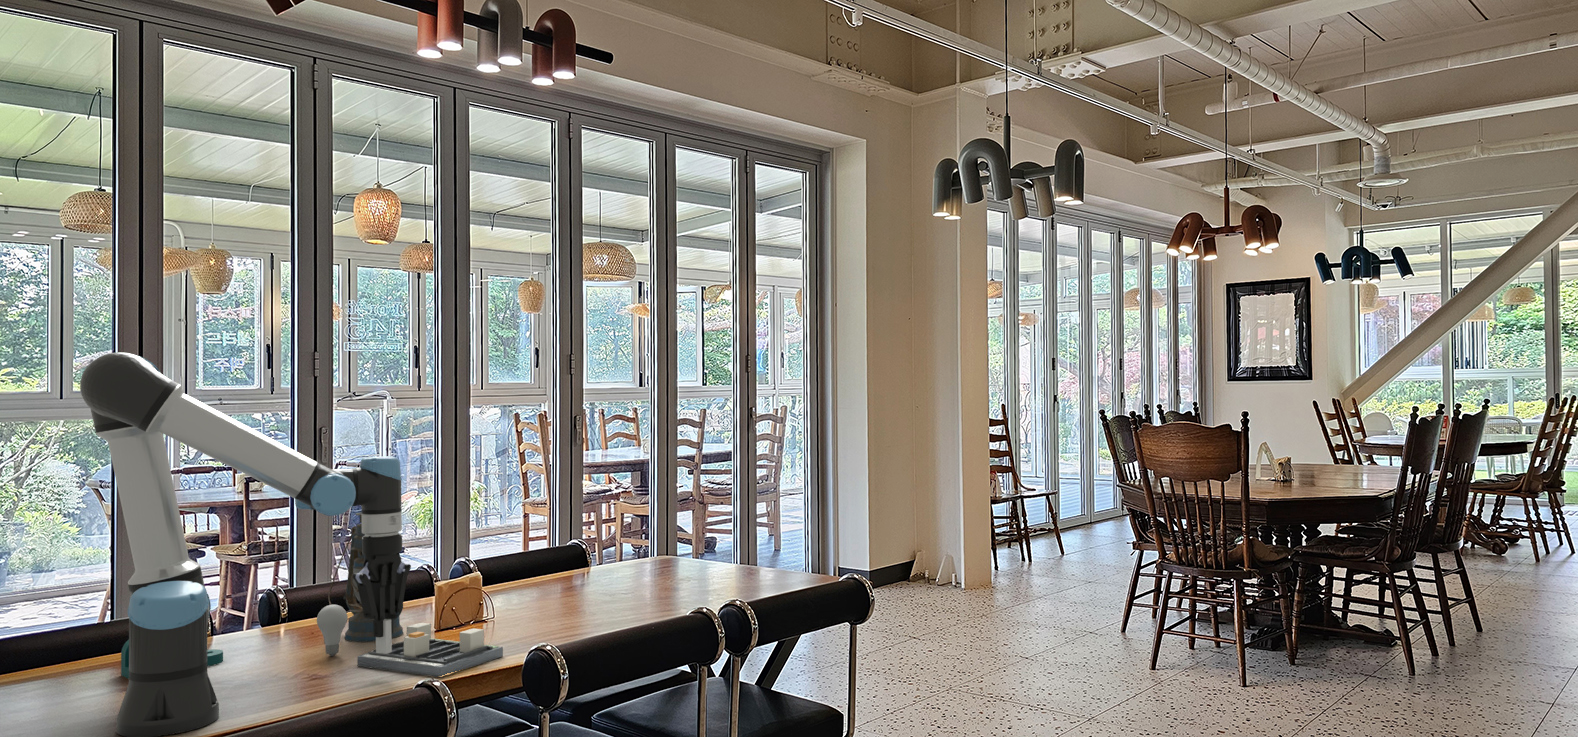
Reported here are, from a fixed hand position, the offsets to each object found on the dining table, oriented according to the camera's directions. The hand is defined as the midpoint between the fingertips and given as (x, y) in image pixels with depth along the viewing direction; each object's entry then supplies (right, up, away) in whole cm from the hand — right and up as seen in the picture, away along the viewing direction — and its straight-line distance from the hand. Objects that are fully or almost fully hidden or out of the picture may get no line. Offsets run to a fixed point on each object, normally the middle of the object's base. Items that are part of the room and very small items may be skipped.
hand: (383, 652), depth 208 cm
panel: (+5, -5, +12) cm, 14 cm away
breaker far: (0, -3, +18) cm, 19 cm away
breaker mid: (+4, -3, +8) cm, 9 cm away
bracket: (-47, -6, +8) cm, 48 cm away
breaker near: (+14, -3, +12) cm, 19 cm away
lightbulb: (-18, -6, +17) cm, 25 cm away
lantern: (-17, -6, +36) cm, 40 cm away
